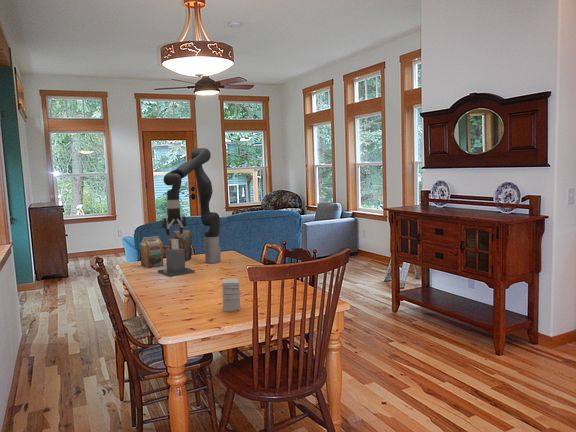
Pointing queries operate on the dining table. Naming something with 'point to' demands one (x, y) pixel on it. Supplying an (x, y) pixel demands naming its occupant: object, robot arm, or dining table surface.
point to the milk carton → (151, 252)
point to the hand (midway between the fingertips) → (174, 234)
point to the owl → (184, 242)
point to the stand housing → (175, 263)
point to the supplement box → (231, 294)
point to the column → (175, 244)
